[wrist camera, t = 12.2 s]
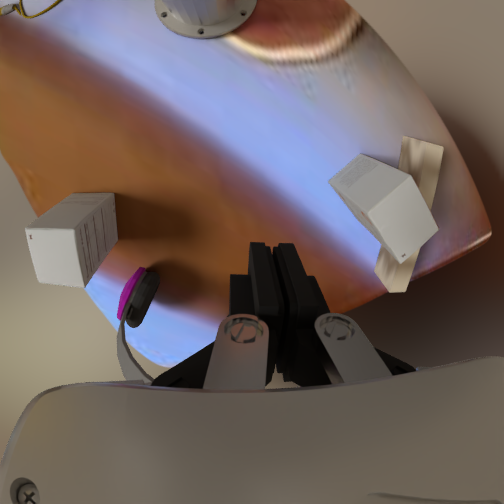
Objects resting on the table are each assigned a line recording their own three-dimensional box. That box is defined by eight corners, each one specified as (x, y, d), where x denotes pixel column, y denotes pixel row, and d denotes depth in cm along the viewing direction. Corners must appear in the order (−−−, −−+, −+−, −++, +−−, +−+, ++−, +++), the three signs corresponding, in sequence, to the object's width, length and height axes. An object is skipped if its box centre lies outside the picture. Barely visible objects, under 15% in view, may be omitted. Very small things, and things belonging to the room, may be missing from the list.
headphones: (263, 304, 46) (279, 412, 29) (237, 339, 50) (242, 441, 32) (139, 251, 41) (89, 351, 23) (124, 294, 44) (82, 392, 26)
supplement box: (77, 238, 39) (36, 283, 28) (72, 191, 35) (22, 226, 24) (119, 241, 40) (85, 290, 28) (116, 192, 36) (73, 228, 25)
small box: (389, 194, 39) (440, 230, 27) (357, 221, 40) (400, 266, 29) (360, 151, 36) (412, 173, 24) (325, 180, 37) (365, 214, 26)
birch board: (403, 135, 35) (427, 142, 29) (419, 139, 35) (443, 147, 30) (374, 271, 45) (389, 292, 39) (389, 271, 45) (405, 291, 40)
